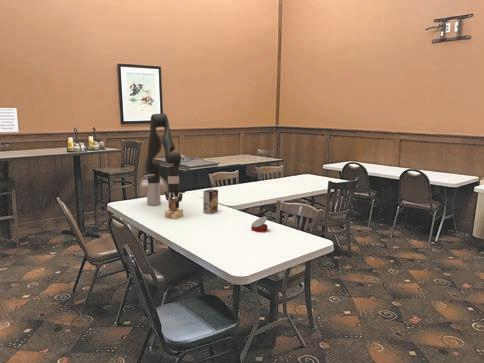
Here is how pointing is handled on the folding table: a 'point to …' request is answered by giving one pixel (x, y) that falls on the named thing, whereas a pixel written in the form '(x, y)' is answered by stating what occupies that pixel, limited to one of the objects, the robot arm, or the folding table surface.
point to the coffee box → (210, 201)
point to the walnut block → (172, 204)
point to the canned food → (259, 225)
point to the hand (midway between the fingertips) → (173, 206)
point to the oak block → (174, 213)
